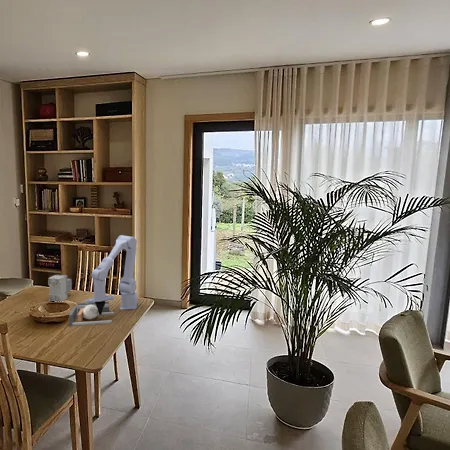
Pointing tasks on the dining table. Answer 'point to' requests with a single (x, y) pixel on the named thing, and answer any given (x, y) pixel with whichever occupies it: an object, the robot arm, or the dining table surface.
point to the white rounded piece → (90, 312)
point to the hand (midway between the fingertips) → (100, 314)
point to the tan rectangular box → (80, 315)
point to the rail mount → (74, 315)
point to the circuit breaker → (59, 287)
